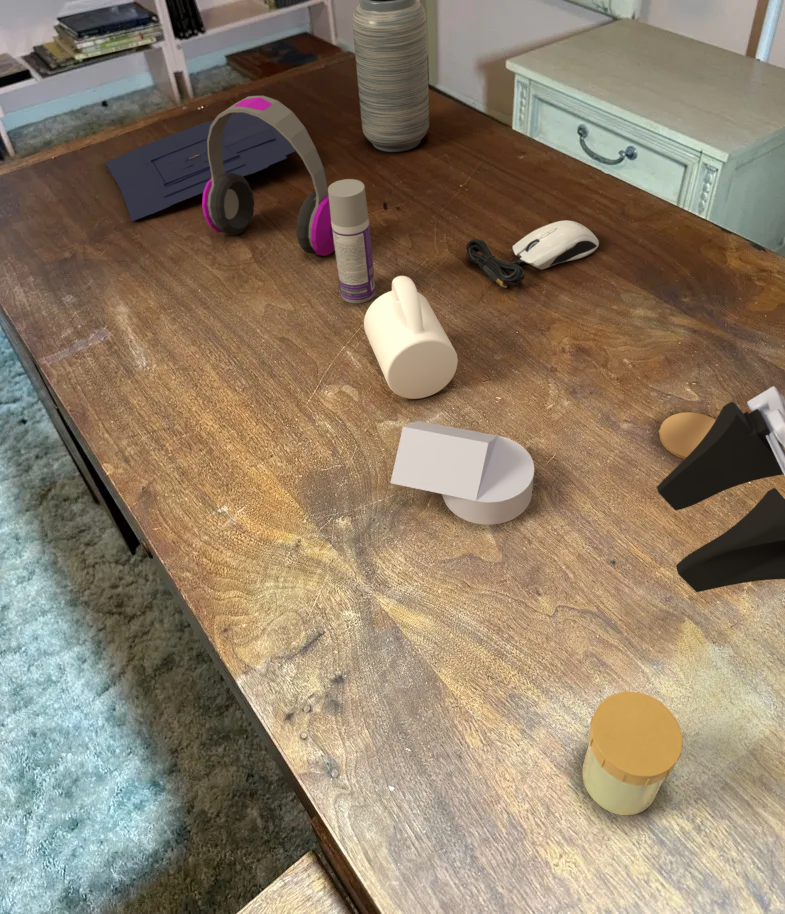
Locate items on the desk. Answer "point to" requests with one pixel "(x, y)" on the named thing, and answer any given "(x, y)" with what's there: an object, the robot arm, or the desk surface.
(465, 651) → the desk surface
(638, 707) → the lid
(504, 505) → the wedge on round base
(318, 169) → the headphones
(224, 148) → the dark blue flat panel
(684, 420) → the tan round disc
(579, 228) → the computer mouse
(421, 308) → the mug
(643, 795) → the jar
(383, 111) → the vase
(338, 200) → the container
